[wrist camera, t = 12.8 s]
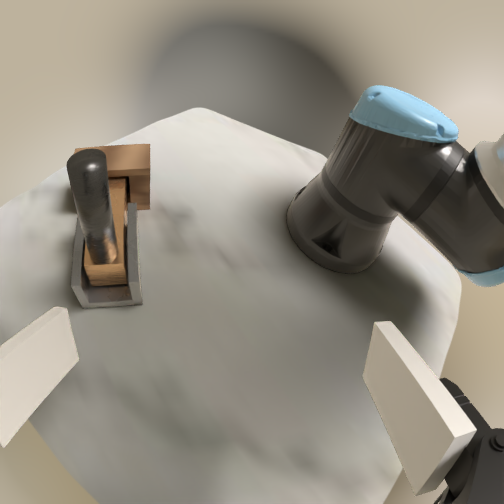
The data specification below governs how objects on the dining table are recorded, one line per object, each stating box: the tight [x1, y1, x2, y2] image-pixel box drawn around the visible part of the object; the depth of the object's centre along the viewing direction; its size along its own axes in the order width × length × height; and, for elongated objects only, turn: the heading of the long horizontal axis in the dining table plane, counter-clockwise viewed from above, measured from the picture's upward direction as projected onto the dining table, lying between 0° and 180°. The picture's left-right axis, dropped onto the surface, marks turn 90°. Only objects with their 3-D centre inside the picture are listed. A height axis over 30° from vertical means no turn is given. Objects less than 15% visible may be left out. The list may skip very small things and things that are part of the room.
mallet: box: [67, 148, 128, 286], centre depth 27 cm, size 4×15×15 cm, turn 14°
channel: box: [71, 203, 143, 308], centre depth 30 cm, size 7×10×5 cm
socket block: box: [74, 144, 150, 211], centre depth 35 cm, size 10×5×7 cm, turn 104°
